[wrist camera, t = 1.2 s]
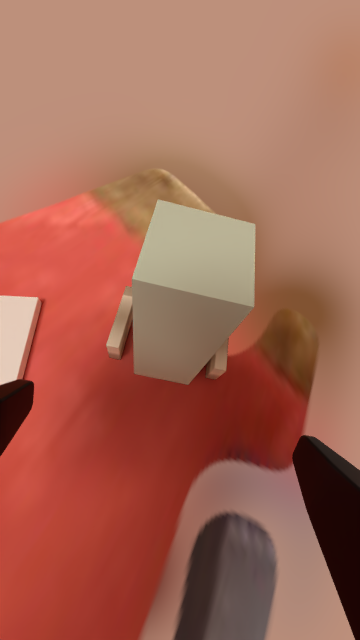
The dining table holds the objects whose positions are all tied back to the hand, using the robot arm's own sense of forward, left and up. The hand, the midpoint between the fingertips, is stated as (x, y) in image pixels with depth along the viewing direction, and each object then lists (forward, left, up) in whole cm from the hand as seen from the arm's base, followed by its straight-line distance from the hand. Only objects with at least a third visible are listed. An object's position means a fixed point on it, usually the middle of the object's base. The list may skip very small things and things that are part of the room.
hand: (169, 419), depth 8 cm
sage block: (+7, -2, -13) cm, 15 cm away
